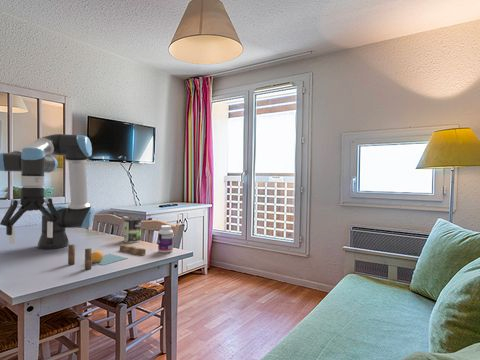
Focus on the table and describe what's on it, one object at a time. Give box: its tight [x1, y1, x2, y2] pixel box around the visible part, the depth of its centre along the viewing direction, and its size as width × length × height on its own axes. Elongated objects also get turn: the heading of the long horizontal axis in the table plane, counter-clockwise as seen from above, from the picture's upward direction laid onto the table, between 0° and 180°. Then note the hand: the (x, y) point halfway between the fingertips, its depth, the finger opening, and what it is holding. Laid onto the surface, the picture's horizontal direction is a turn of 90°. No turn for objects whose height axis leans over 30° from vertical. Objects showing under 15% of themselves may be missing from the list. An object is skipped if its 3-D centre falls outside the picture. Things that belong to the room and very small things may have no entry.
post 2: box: [84, 247, 93, 271], centre depth 131 cm, size 3×3×9 cm
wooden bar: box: [119, 244, 147, 256], centre depth 160 cm, size 18×2×3 cm, turn 61°
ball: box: [91, 250, 104, 264], centre depth 141 cm, size 6×6×6 cm
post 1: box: [67, 244, 76, 266], centre depth 137 cm, size 3×3×9 cm
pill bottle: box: [157, 224, 174, 254], centre depth 164 cm, size 8×8×14 cm
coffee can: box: [123, 217, 142, 244], centre depth 187 cm, size 10×10×14 cm
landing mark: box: [91, 253, 128, 266], centre depth 146 cm, size 14×14×1 cm
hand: (31, 240), depth 116 cm, fingers open, 13 cm apart
